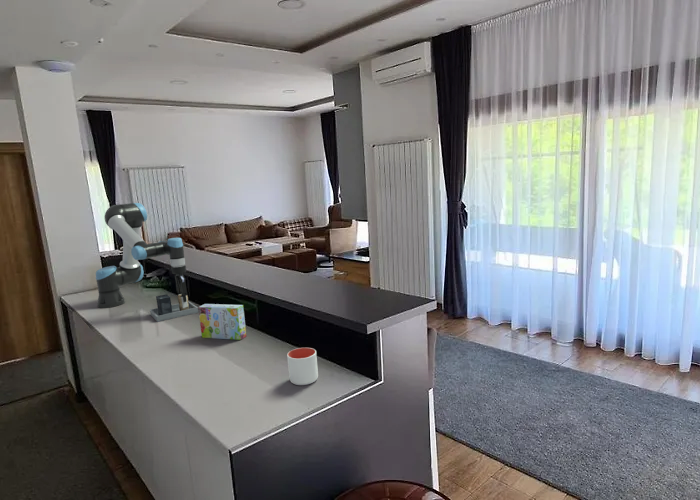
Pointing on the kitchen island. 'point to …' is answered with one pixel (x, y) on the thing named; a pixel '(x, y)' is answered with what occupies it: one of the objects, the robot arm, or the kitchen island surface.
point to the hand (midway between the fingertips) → (183, 306)
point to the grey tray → (174, 312)
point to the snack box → (222, 321)
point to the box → (164, 304)
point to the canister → (181, 303)
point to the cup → (302, 366)
